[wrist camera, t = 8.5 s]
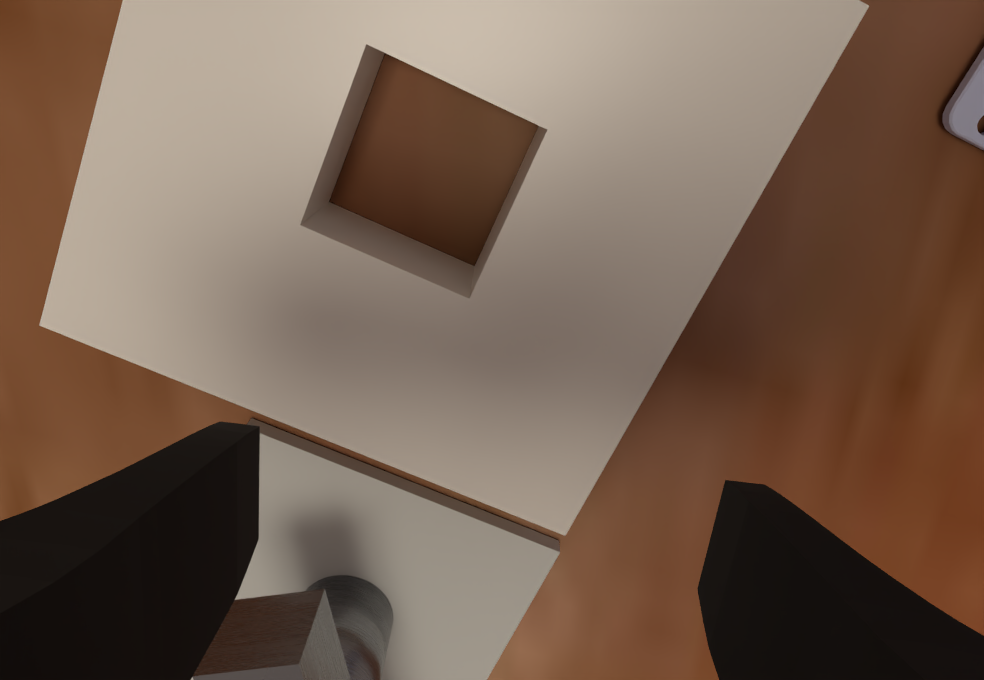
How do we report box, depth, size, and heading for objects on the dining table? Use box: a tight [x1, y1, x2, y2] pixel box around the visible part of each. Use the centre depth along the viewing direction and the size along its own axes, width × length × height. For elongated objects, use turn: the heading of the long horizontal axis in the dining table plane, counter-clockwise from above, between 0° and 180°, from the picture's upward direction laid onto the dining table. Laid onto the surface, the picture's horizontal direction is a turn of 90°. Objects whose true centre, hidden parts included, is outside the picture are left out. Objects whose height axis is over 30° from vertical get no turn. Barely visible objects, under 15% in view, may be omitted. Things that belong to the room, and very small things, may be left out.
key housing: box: [40, 0, 869, 536], centre depth 18 cm, size 14×14×3 cm
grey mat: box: [191, 418, 560, 680], centre depth 24 cm, size 10×10×1 cm
